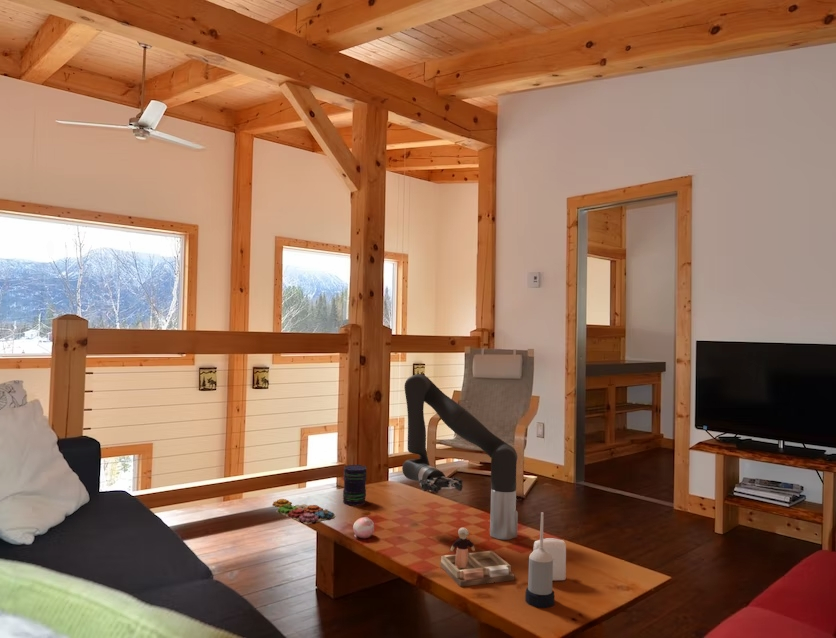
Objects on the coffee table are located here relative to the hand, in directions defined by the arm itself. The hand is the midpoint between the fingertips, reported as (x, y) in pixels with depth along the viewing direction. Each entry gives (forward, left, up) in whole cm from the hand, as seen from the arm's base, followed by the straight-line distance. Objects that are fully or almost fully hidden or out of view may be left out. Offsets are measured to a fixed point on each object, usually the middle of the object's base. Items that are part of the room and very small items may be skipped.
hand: (448, 489), depth 205 cm
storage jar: (+15, -69, -23) cm, 75 cm away
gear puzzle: (+39, -61, -24) cm, 77 cm away
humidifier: (-13, +38, -23) cm, 46 cm away
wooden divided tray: (-4, +15, -23) cm, 27 cm away
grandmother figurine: (0, +13, -21) cm, 25 cm away
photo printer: (-24, +25, -23) cm, 41 cm away
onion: (+22, -26, -23) cm, 41 cm away
